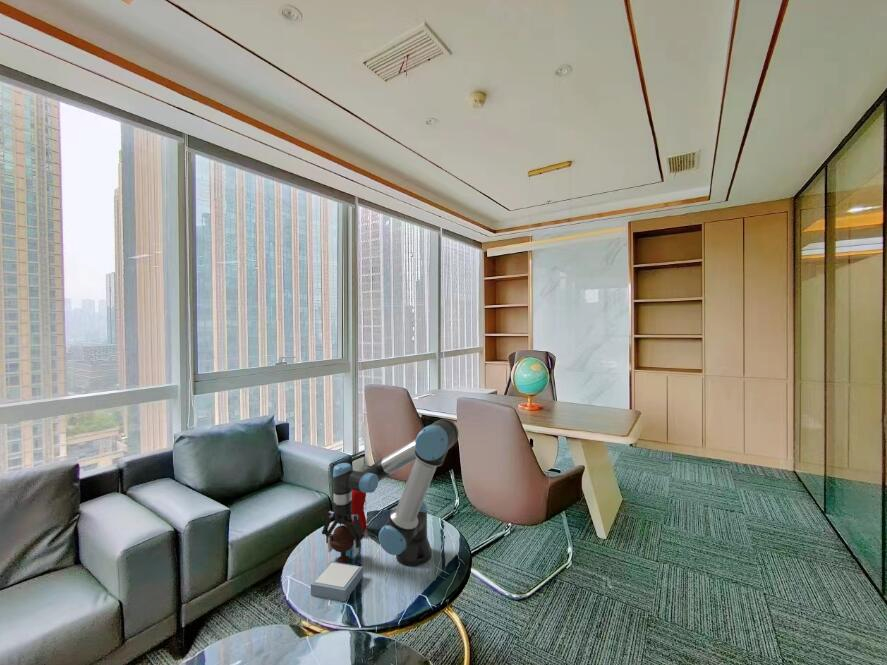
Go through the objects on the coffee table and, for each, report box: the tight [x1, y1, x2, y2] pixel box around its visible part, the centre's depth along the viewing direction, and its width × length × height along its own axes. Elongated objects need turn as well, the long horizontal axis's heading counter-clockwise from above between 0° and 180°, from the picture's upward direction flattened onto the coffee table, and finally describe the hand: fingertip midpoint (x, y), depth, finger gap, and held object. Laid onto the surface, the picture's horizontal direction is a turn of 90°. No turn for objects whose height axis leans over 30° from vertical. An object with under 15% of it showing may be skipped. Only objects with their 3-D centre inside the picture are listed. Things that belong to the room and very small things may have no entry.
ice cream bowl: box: [329, 524, 355, 564], centre depth 161 cm, size 11×11×15 cm
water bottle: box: [344, 490, 368, 533], centre depth 184 cm, size 9×11×25 cm
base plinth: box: [310, 561, 364, 602], centre depth 146 cm, size 14×14×4 cm
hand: (343, 552), depth 162 cm, fingers open, 11 cm apart
